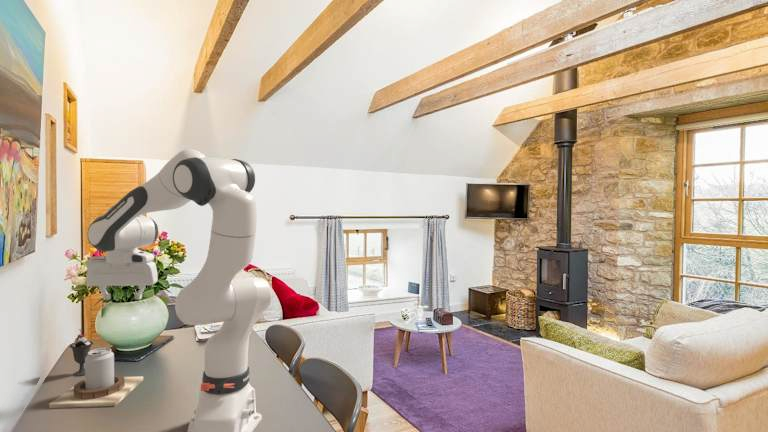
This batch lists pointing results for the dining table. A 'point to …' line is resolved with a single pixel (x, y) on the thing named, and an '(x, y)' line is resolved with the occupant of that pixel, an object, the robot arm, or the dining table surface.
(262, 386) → the dining table surface
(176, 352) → the dining table surface
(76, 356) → the sundae
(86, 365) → the can
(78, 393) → the ring board
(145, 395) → the dining table surface
